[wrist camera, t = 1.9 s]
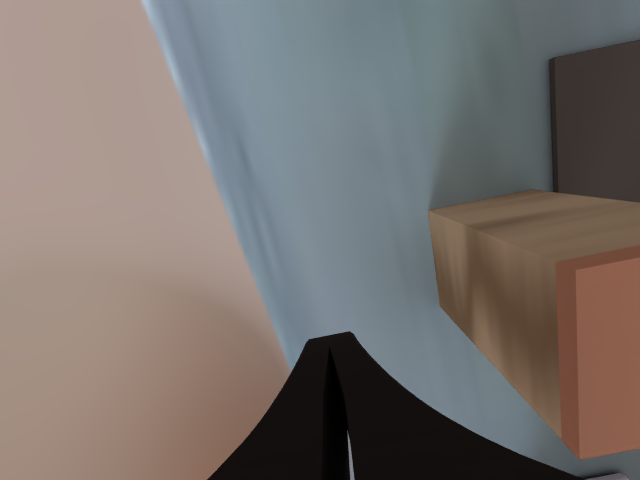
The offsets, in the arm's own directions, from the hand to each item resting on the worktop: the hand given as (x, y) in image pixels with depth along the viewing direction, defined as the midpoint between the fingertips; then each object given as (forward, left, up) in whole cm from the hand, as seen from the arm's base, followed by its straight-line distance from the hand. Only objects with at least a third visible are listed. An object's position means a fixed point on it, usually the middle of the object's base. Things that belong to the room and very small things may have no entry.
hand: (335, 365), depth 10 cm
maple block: (0, -8, -7) cm, 11 cm away
